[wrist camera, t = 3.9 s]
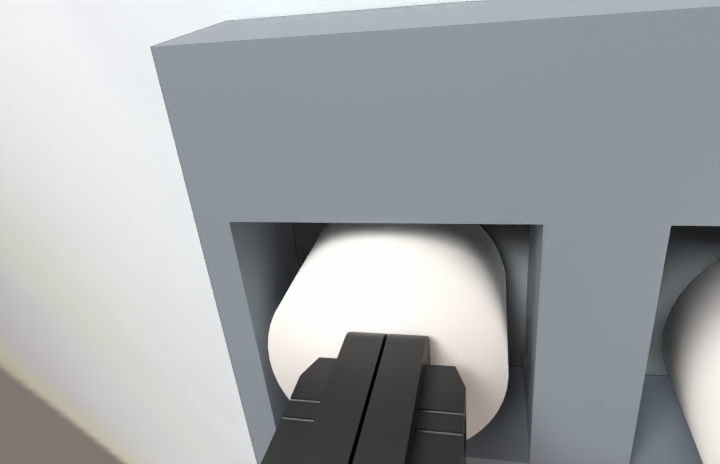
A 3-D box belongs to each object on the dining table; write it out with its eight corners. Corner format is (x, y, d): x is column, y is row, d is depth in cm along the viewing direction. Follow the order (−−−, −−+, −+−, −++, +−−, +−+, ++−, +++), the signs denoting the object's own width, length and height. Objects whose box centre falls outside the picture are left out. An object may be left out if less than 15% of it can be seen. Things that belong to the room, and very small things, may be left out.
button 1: (323, 353, 15) (287, 442, 12) (298, 192, 13) (248, 260, 10) (503, 364, 14) (505, 465, 11) (508, 192, 12) (511, 266, 9)
